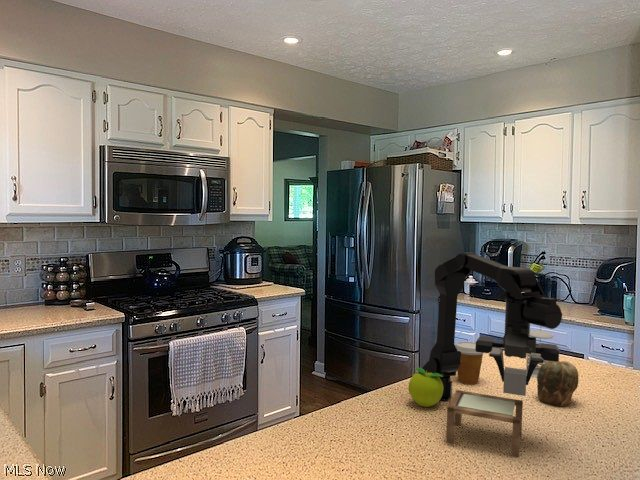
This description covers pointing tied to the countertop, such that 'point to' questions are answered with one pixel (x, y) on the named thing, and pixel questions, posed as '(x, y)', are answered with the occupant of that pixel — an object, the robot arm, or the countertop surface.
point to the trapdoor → (487, 404)
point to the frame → (457, 412)
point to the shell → (557, 382)
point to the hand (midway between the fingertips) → (514, 383)
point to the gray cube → (515, 381)
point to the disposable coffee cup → (469, 363)
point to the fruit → (426, 388)
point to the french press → (540, 335)
